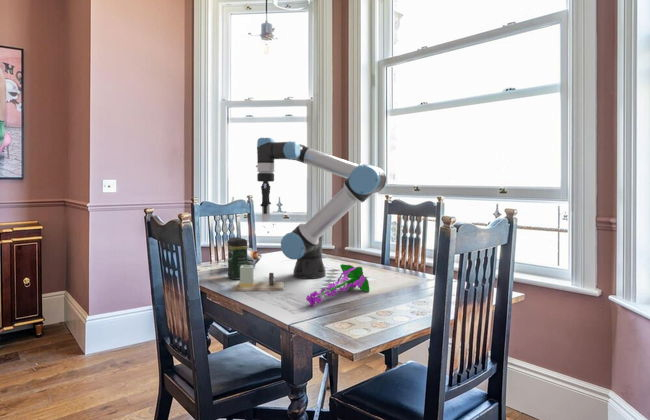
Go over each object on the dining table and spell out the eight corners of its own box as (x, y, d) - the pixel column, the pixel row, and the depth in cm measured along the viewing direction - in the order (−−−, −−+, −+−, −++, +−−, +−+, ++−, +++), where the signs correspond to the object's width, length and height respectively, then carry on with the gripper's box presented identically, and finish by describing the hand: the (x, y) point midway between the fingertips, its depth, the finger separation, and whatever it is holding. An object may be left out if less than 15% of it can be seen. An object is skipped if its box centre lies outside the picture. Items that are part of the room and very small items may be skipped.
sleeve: (241, 284, 178) (241, 265, 177) (253, 283, 178) (253, 265, 178) (240, 287, 173) (240, 267, 172) (252, 286, 173) (252, 267, 173)
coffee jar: (250, 278, 192) (250, 238, 191) (234, 280, 188) (233, 239, 187) (241, 274, 200) (241, 235, 199) (225, 276, 196) (225, 236, 195)
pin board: (283, 284, 182) (283, 270, 182) (283, 290, 172) (283, 275, 172) (236, 285, 180) (236, 271, 180) (233, 291, 170) (233, 276, 170)
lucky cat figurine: (254, 265, 223) (263, 243, 217) (255, 279, 212) (264, 256, 207) (226, 258, 218) (234, 236, 213) (225, 272, 207) (234, 249, 202)
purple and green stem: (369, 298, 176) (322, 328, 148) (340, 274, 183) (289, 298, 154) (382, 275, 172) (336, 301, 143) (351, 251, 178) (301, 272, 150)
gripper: (259, 173, 202) (259, 217, 203) (255, 172, 177) (255, 222, 179) (274, 173, 203) (275, 217, 204) (273, 172, 178) (273, 222, 179)
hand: (266, 220), depth 191 cm, fingers open, 13 cm apart
